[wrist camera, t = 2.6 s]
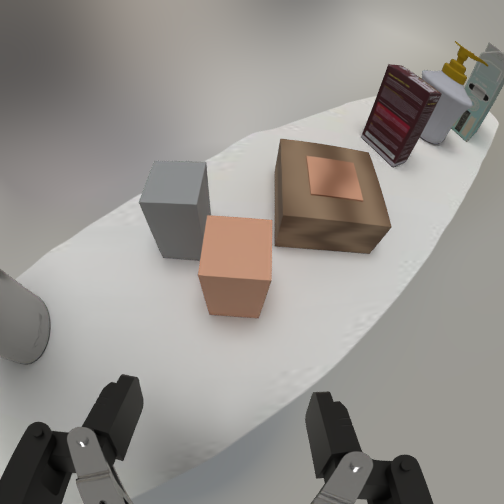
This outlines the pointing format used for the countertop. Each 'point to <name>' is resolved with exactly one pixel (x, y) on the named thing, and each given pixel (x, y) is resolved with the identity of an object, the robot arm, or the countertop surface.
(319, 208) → the walnut base block
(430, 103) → the supplement box
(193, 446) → the countertop surface
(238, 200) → the countertop surface
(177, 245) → the slate-grey pillar
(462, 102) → the soap bottle
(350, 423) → the robot arm
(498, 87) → the device
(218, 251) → the terracotta pillar
